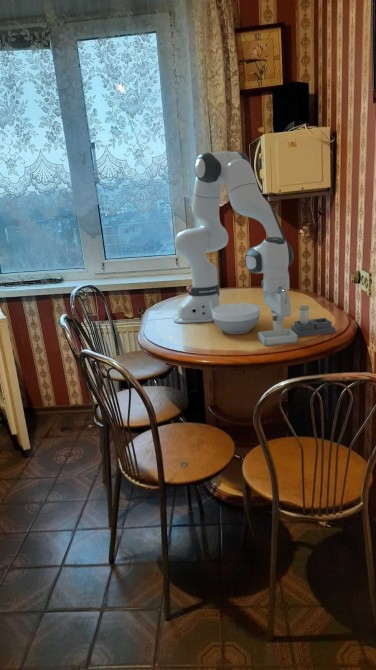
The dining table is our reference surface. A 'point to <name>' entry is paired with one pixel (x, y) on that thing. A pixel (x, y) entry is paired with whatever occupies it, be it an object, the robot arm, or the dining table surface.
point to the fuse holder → (313, 327)
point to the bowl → (236, 317)
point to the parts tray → (277, 337)
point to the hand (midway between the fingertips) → (277, 322)
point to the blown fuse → (276, 327)
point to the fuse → (304, 315)
